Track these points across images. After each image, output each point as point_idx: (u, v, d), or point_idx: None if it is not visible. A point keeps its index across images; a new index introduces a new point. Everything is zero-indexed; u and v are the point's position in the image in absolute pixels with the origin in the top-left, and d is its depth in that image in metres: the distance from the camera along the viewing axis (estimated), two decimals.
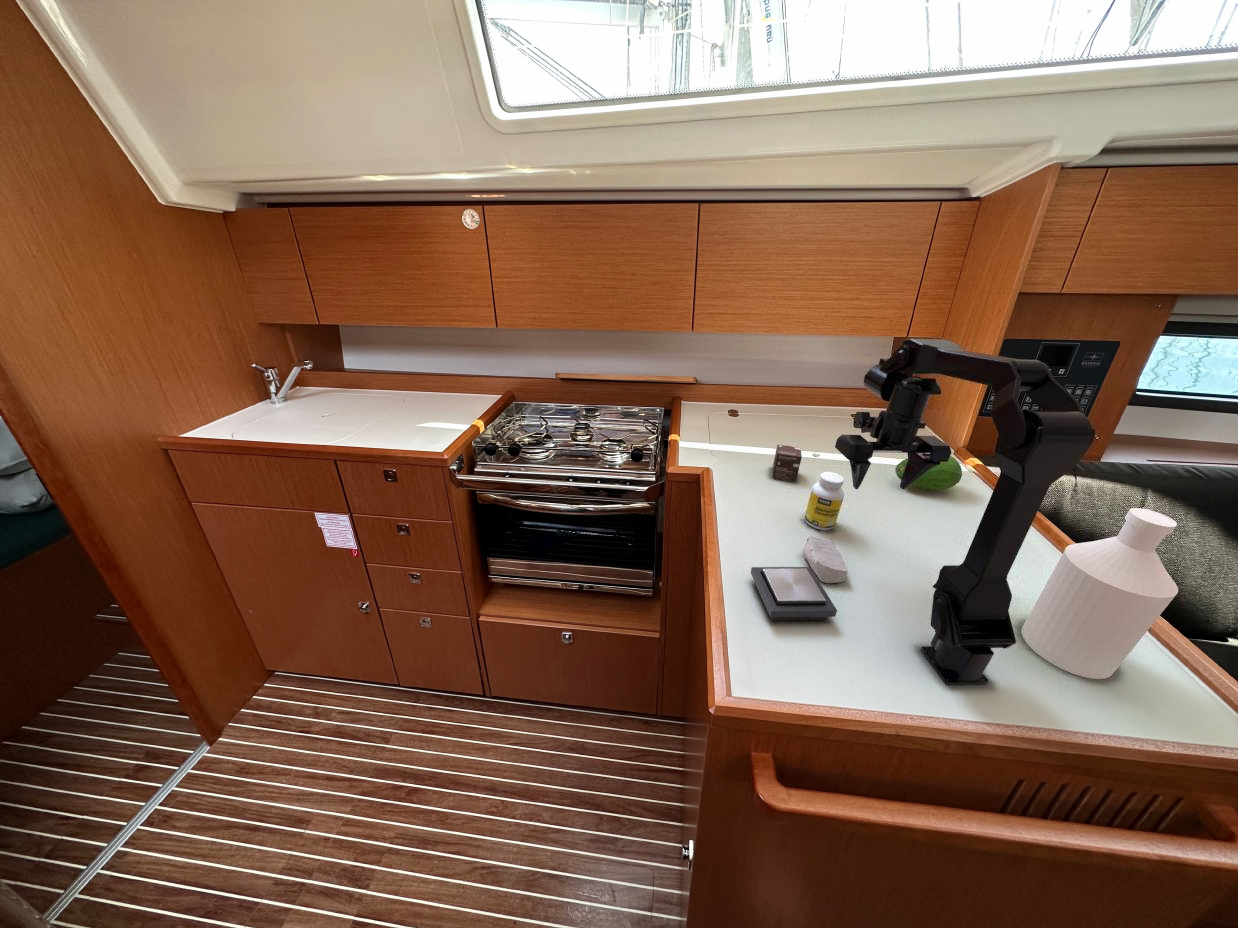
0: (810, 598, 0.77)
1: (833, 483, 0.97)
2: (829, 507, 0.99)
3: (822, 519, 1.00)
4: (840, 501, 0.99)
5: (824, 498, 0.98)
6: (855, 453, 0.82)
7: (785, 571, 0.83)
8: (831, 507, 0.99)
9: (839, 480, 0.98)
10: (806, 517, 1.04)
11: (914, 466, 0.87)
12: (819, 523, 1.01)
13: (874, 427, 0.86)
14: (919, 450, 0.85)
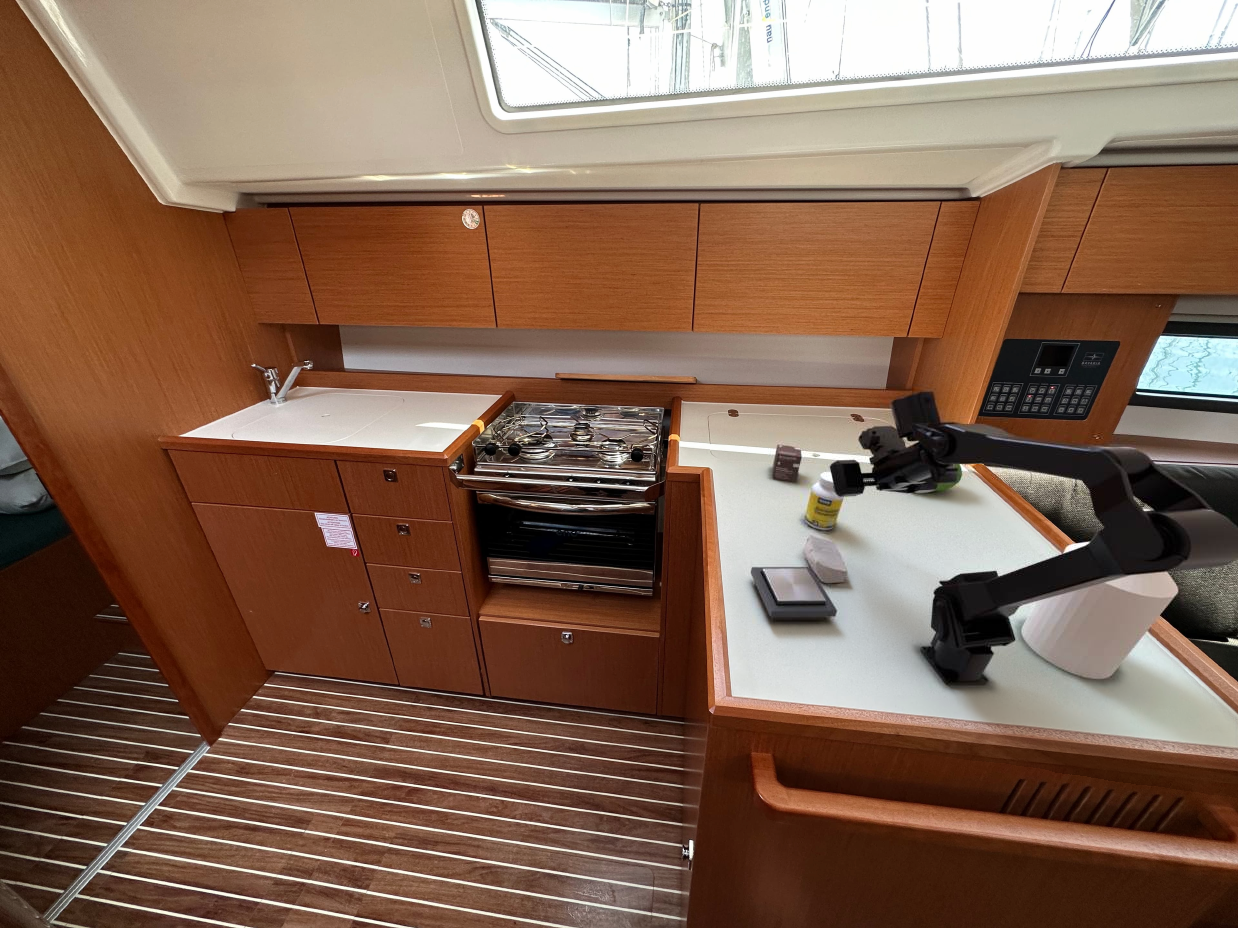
0: (810, 598, 0.77)
1: None
2: (829, 507, 0.99)
3: (822, 519, 1.00)
4: (840, 501, 0.99)
5: (824, 498, 0.98)
6: (845, 494, 0.81)
7: (785, 571, 0.83)
8: (831, 507, 0.99)
9: None
10: (806, 517, 1.04)
11: None
12: (819, 523, 1.01)
13: (876, 457, 0.81)
14: None
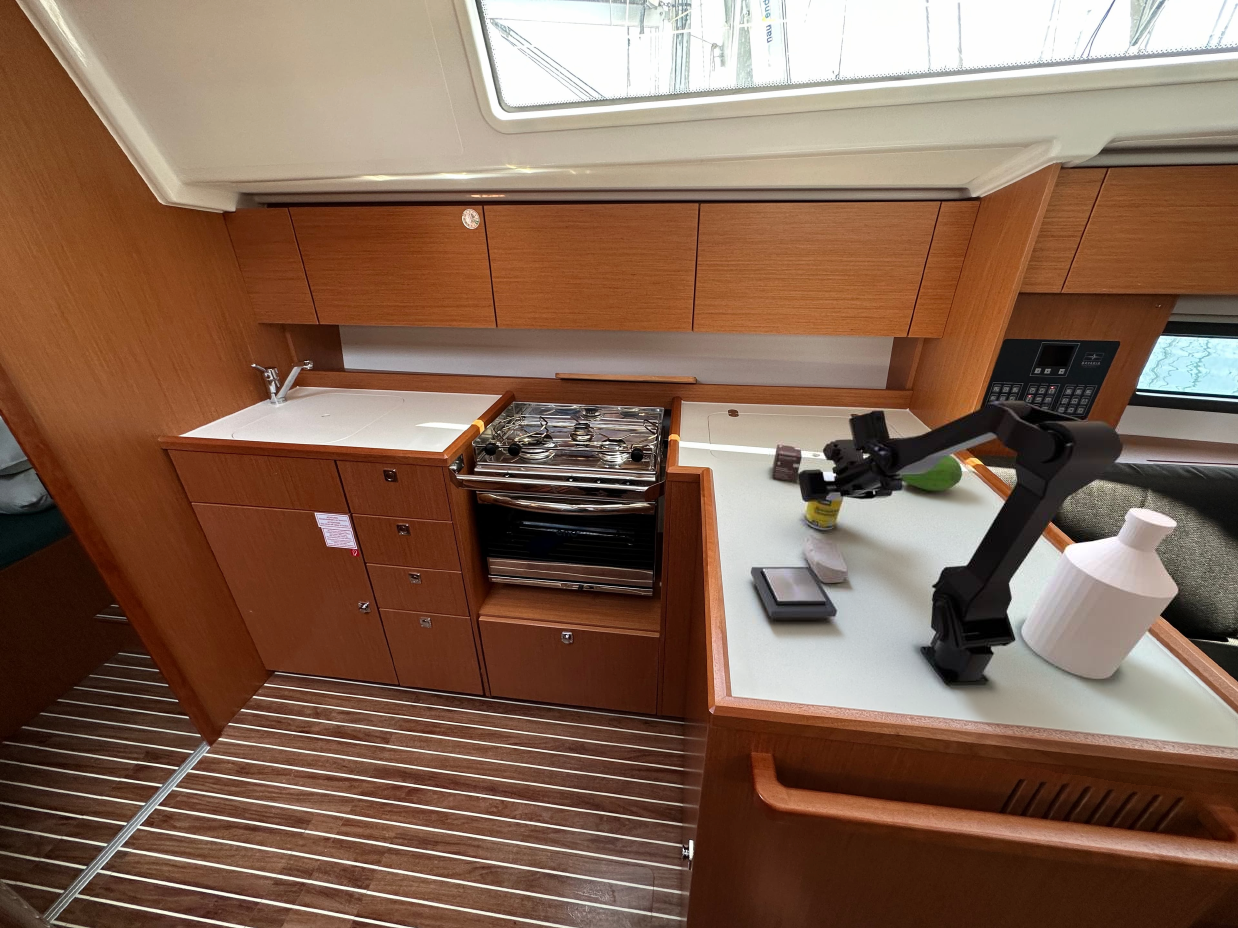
0: (810, 598, 0.77)
1: None
2: (828, 507, 0.99)
3: (822, 519, 1.00)
4: (840, 501, 0.99)
5: None
6: (810, 500, 0.92)
7: (785, 571, 0.83)
8: (831, 507, 0.99)
9: None
10: (806, 517, 1.04)
11: None
12: (819, 523, 1.01)
13: (838, 467, 0.92)
14: None
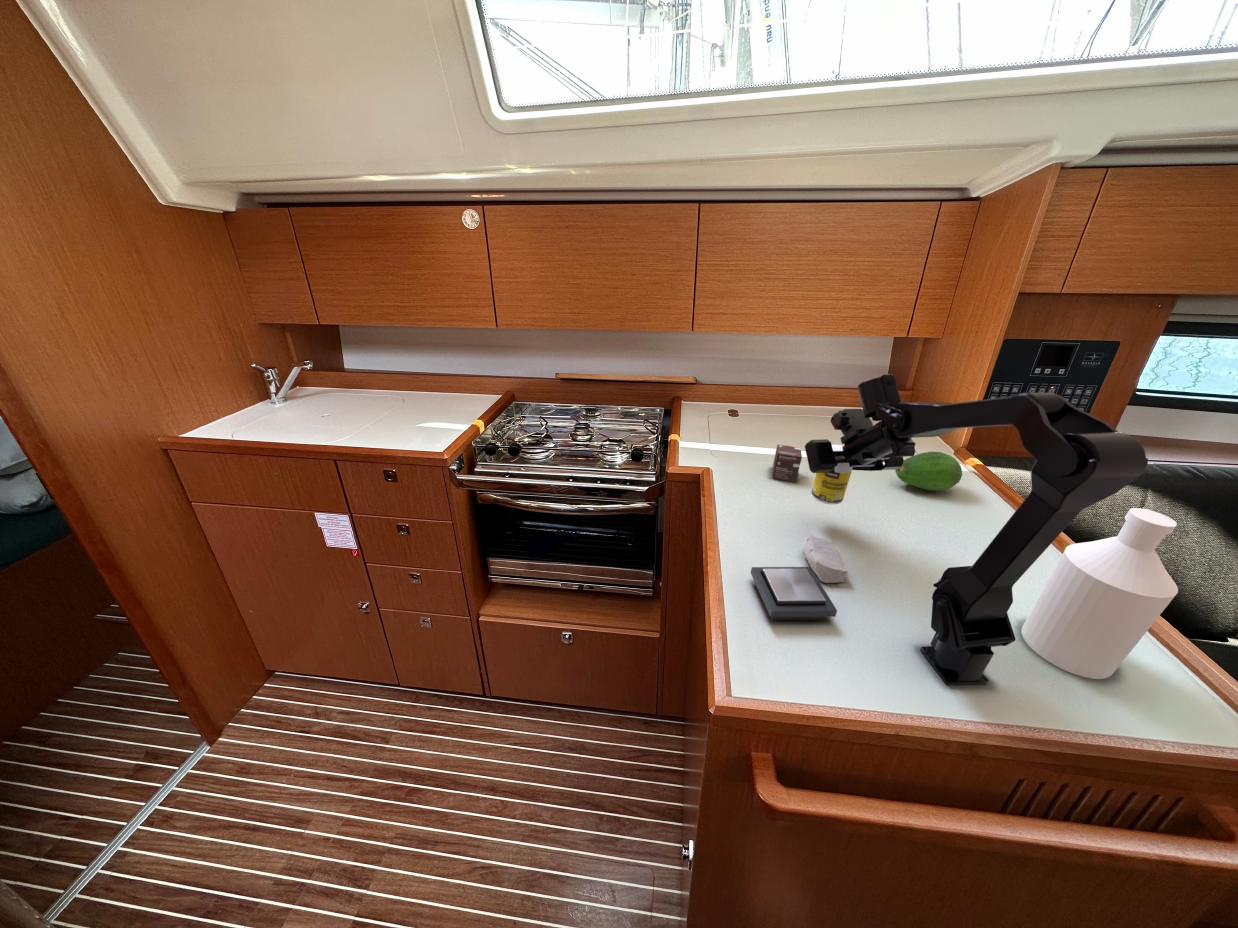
0: (810, 598, 0.77)
1: None
2: (836, 480, 0.96)
3: (830, 493, 0.97)
4: (848, 474, 0.95)
5: None
6: (818, 470, 0.89)
7: (785, 571, 0.83)
8: (839, 480, 0.96)
9: None
10: (813, 491, 1.00)
11: None
12: (826, 497, 0.98)
13: (846, 436, 0.89)
14: None
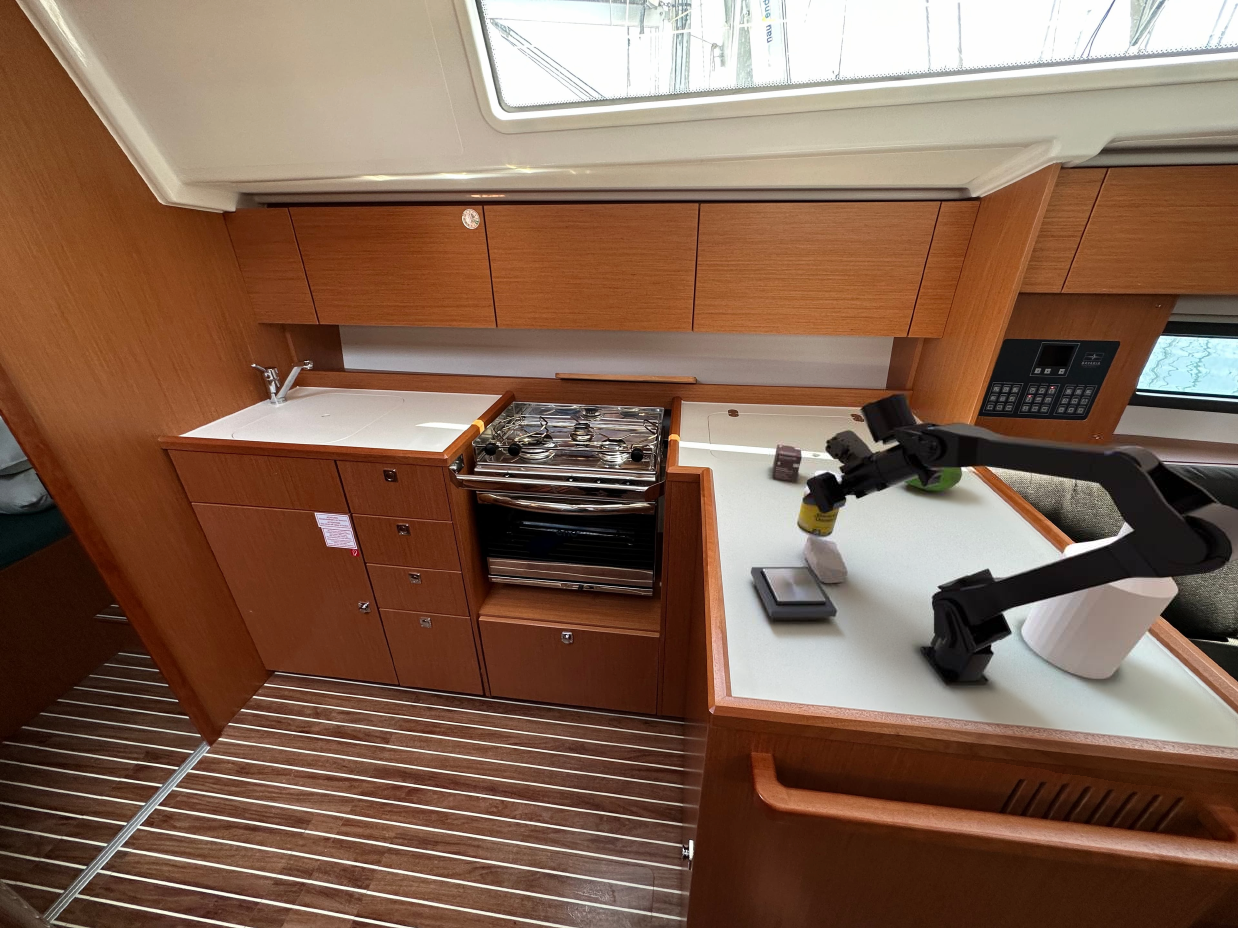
0: (810, 598, 0.77)
1: None
2: (832, 511, 0.85)
3: (824, 526, 0.86)
4: None
5: None
6: (830, 511, 0.76)
7: (785, 571, 0.83)
8: (834, 510, 0.85)
9: (838, 478, 0.84)
10: (802, 526, 0.88)
11: None
12: (821, 531, 0.87)
13: (849, 465, 0.78)
14: None
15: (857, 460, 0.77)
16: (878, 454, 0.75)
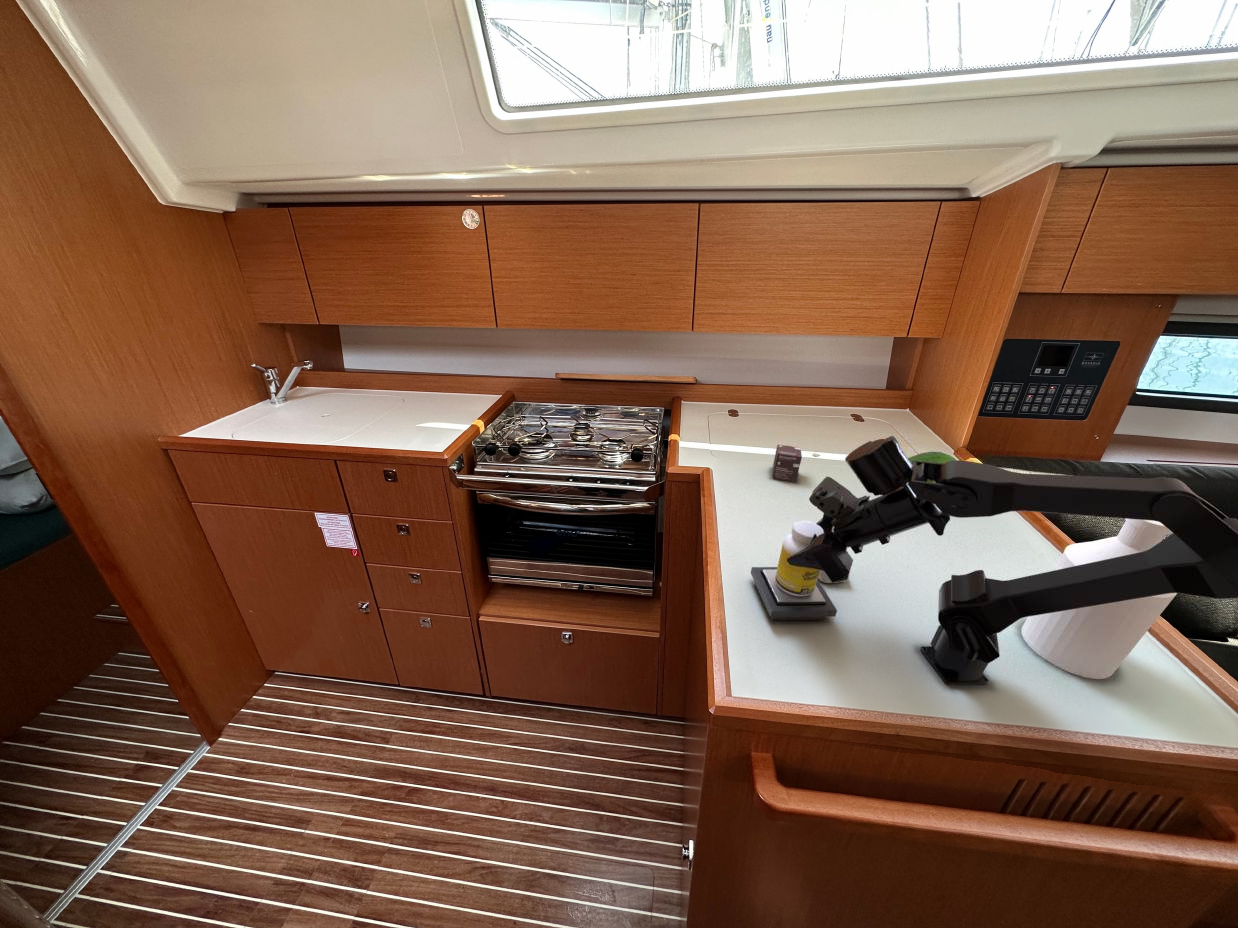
0: (809, 599, 0.77)
1: None
2: None
3: (812, 583, 0.76)
4: None
5: None
6: None
7: None
8: None
9: (819, 529, 0.75)
10: (788, 588, 0.77)
11: (827, 532, 0.77)
12: (809, 589, 0.77)
13: (845, 520, 0.68)
14: None
15: (854, 514, 0.68)
16: (876, 504, 0.67)
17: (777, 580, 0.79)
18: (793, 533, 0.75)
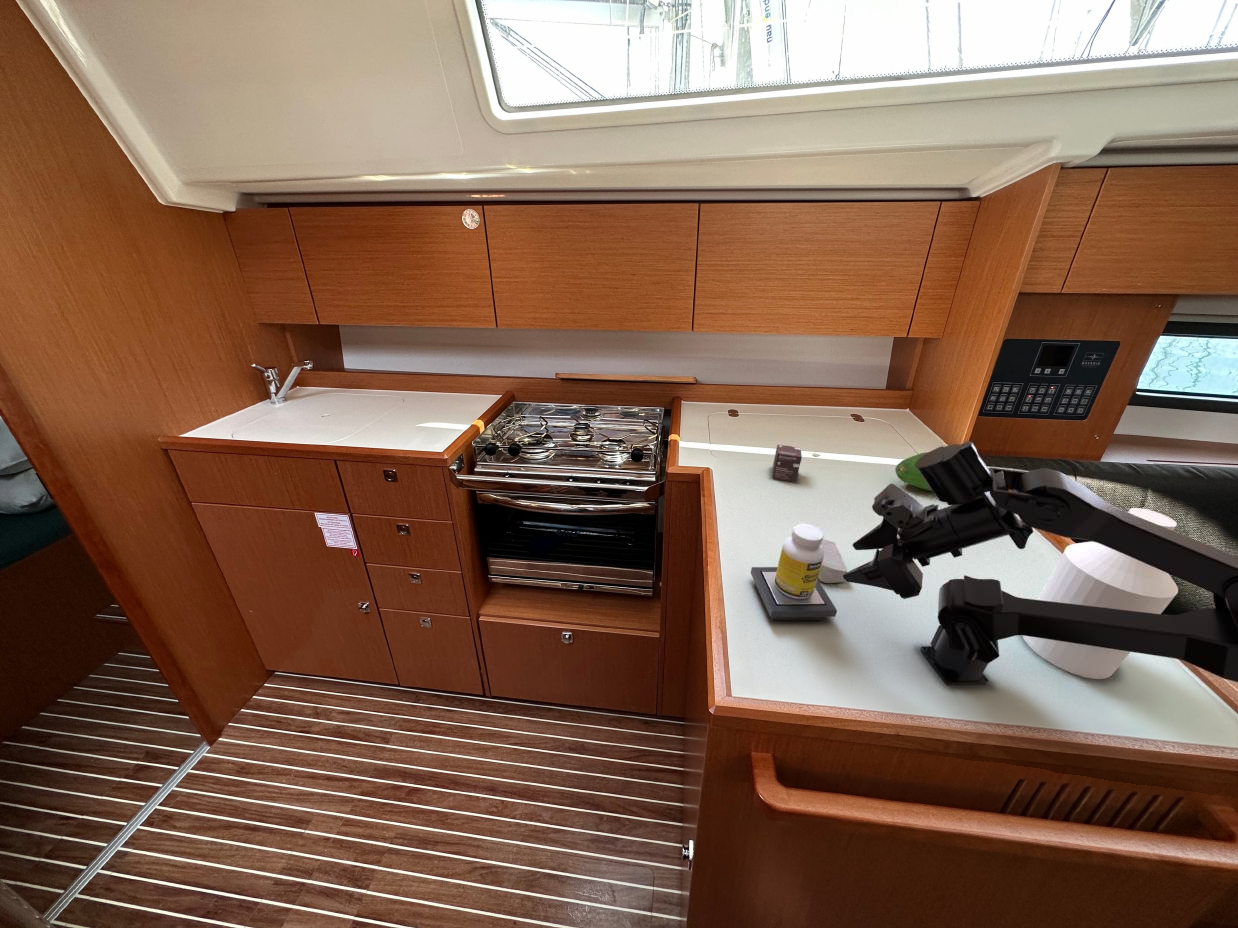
0: (809, 601, 0.78)
1: (821, 540, 0.74)
2: (818, 569, 0.76)
3: (812, 586, 0.77)
4: None
5: (815, 562, 0.74)
6: None
7: None
8: (820, 567, 0.76)
9: (819, 532, 0.75)
10: (787, 590, 0.78)
11: (886, 538, 0.74)
12: (808, 592, 0.77)
13: (913, 531, 0.64)
14: None
15: (924, 524, 0.63)
16: (949, 514, 0.62)
17: (776, 582, 0.79)
18: (793, 536, 0.75)
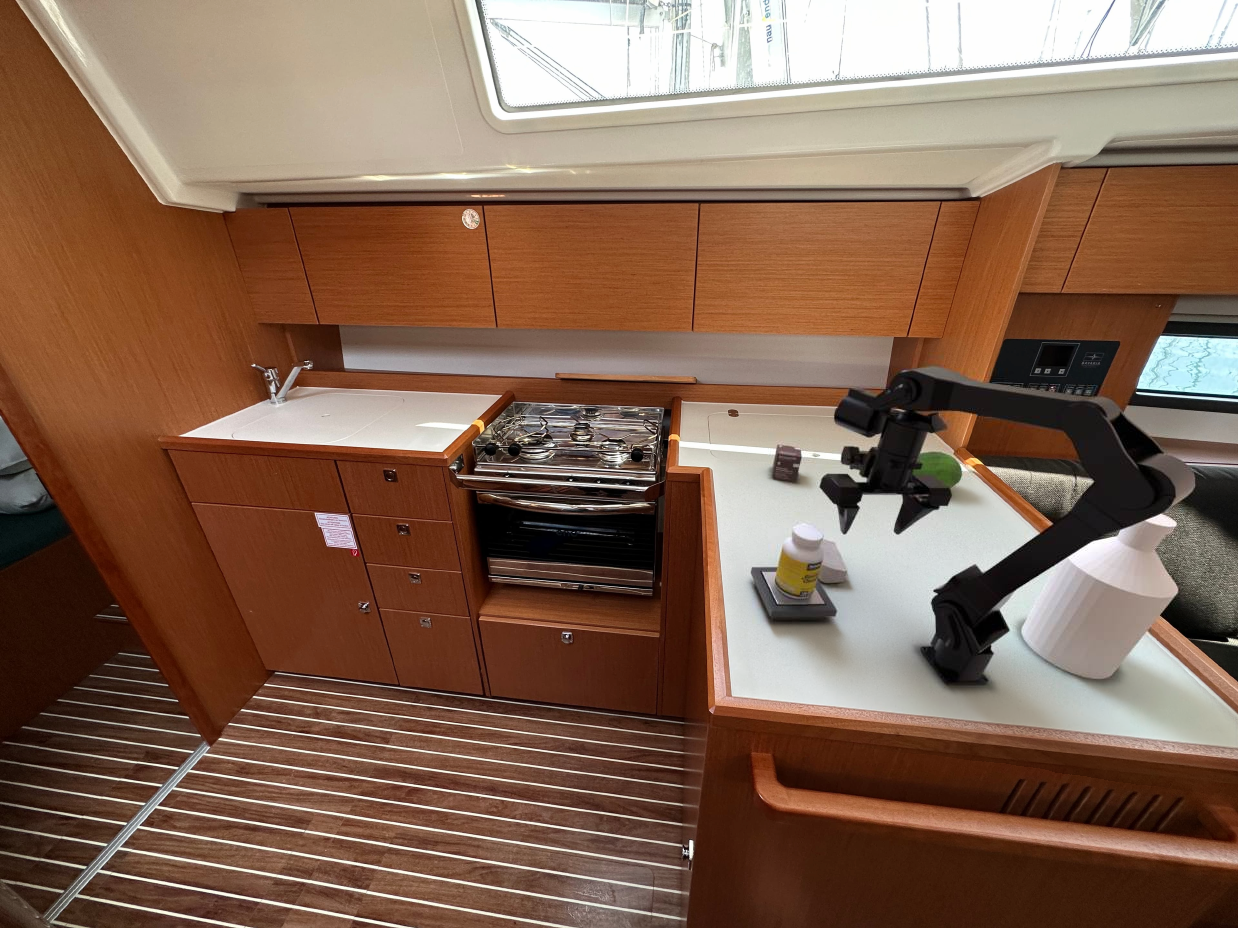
0: (809, 601, 0.78)
1: (821, 540, 0.74)
2: (818, 569, 0.76)
3: (812, 586, 0.77)
4: None
5: (815, 562, 0.74)
6: (841, 497, 0.71)
7: None
8: (820, 567, 0.76)
9: (819, 532, 0.75)
10: (787, 590, 0.78)
11: (909, 509, 0.76)
12: (808, 592, 0.77)
13: (863, 464, 0.76)
14: (915, 492, 0.75)
15: (867, 455, 0.75)
16: None
17: (776, 582, 0.79)
18: (793, 536, 0.75)
